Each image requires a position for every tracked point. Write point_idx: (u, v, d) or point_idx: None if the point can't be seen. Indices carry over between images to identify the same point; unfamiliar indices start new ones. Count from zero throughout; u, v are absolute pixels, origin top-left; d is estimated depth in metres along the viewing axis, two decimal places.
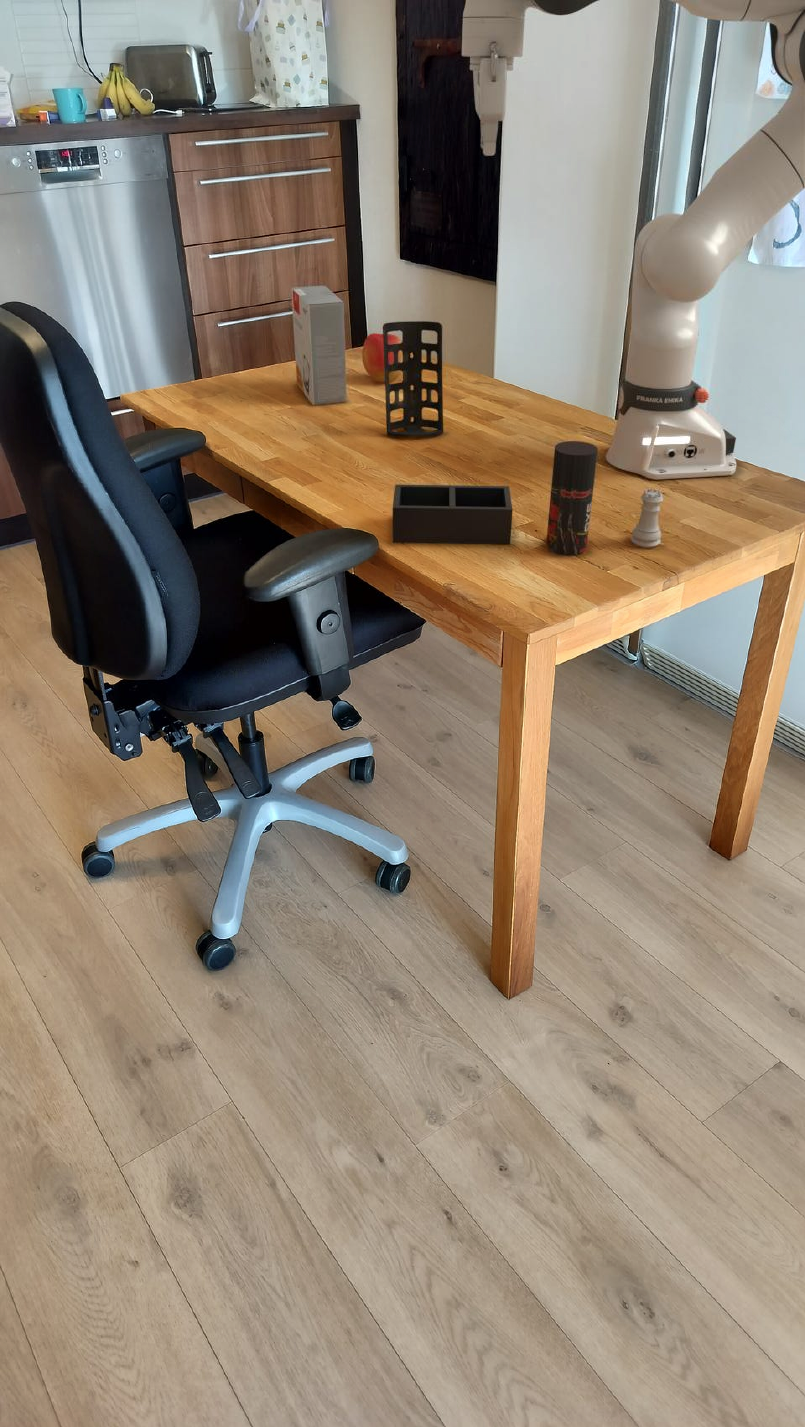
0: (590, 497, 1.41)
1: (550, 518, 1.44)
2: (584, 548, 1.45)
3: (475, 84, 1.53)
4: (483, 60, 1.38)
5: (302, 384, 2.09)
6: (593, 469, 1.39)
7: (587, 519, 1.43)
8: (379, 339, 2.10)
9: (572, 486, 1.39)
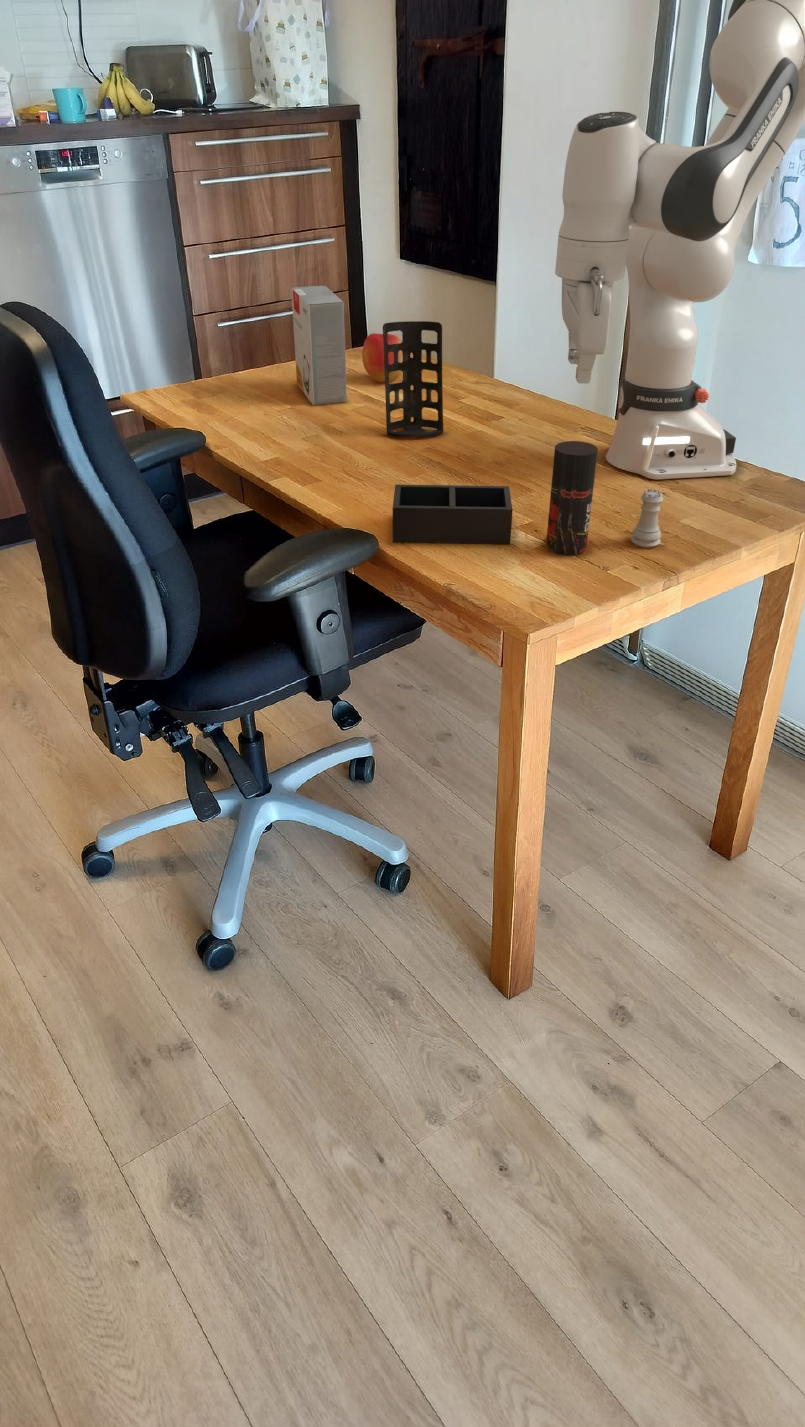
0: (590, 497, 1.41)
1: (550, 518, 1.44)
2: (584, 548, 1.45)
3: (564, 292, 1.37)
4: (585, 291, 1.21)
5: (302, 384, 2.09)
6: (593, 469, 1.39)
7: (587, 519, 1.43)
8: (379, 339, 2.10)
9: (572, 486, 1.39)
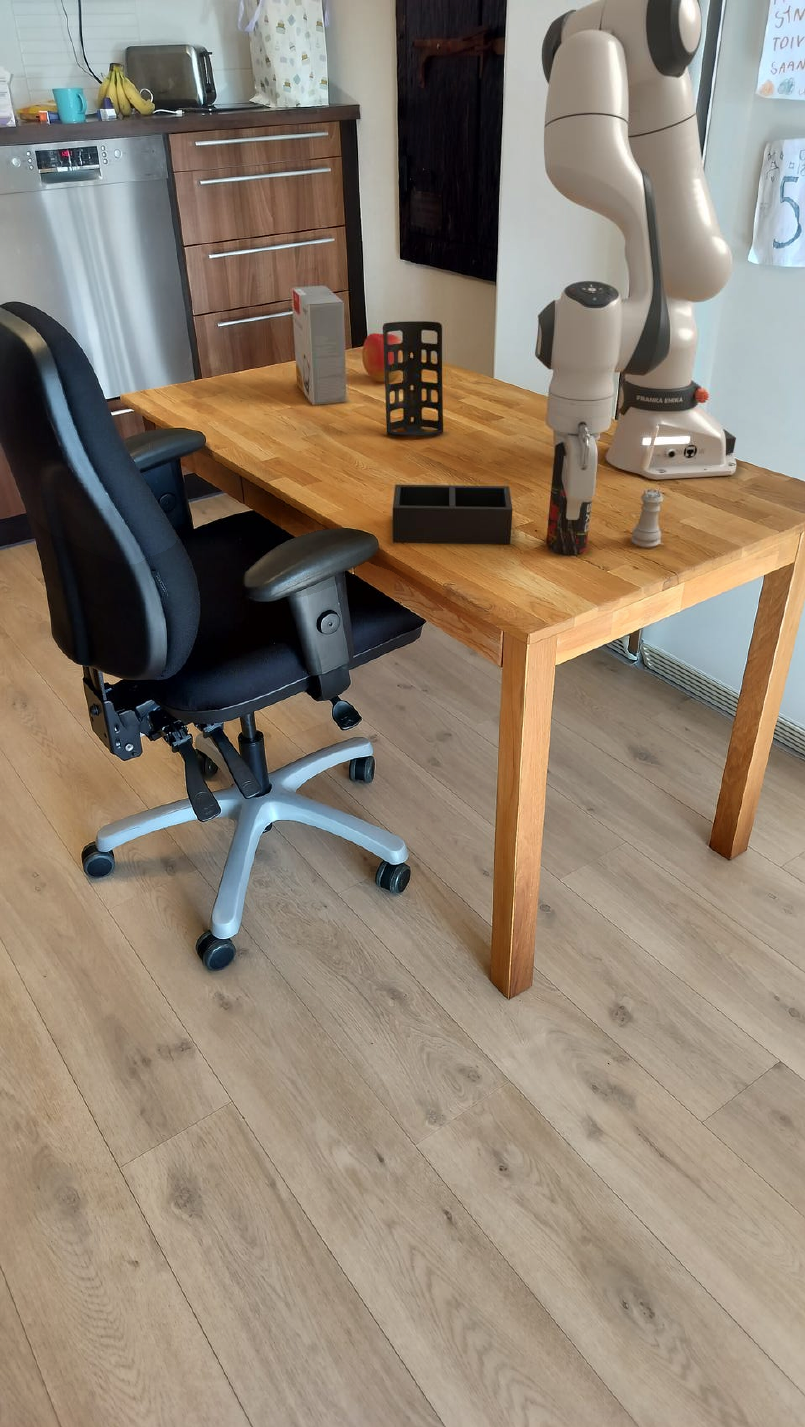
0: None
1: (550, 518, 1.44)
2: (584, 548, 1.45)
3: None
4: (573, 447, 1.30)
5: (302, 384, 2.09)
6: None
7: (587, 519, 1.43)
8: (379, 339, 2.10)
9: None
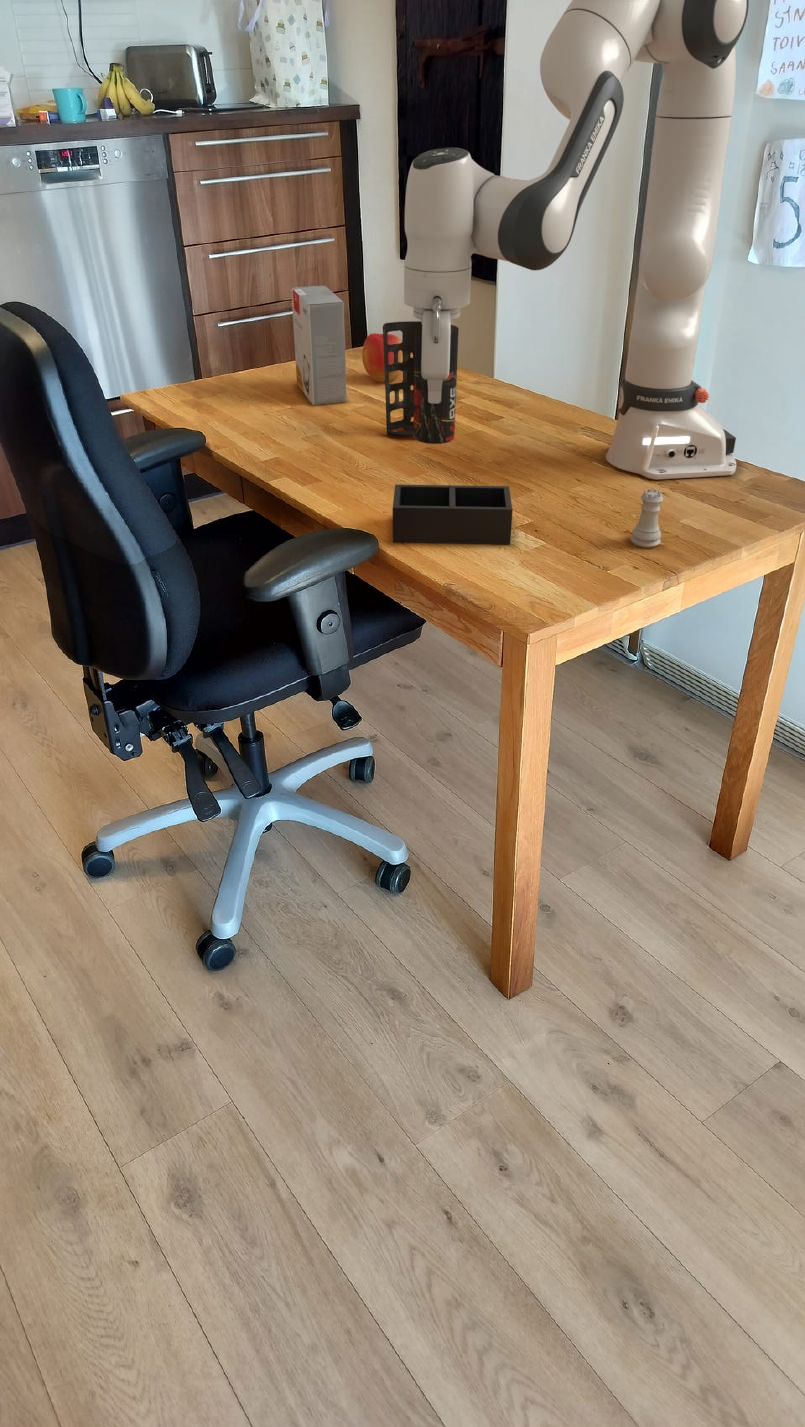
0: (453, 381, 1.37)
1: (414, 404, 1.40)
2: (451, 437, 1.42)
3: None
4: (424, 320, 1.26)
5: (302, 384, 2.09)
6: (454, 350, 1.35)
7: (452, 405, 1.39)
8: (379, 339, 2.10)
9: None
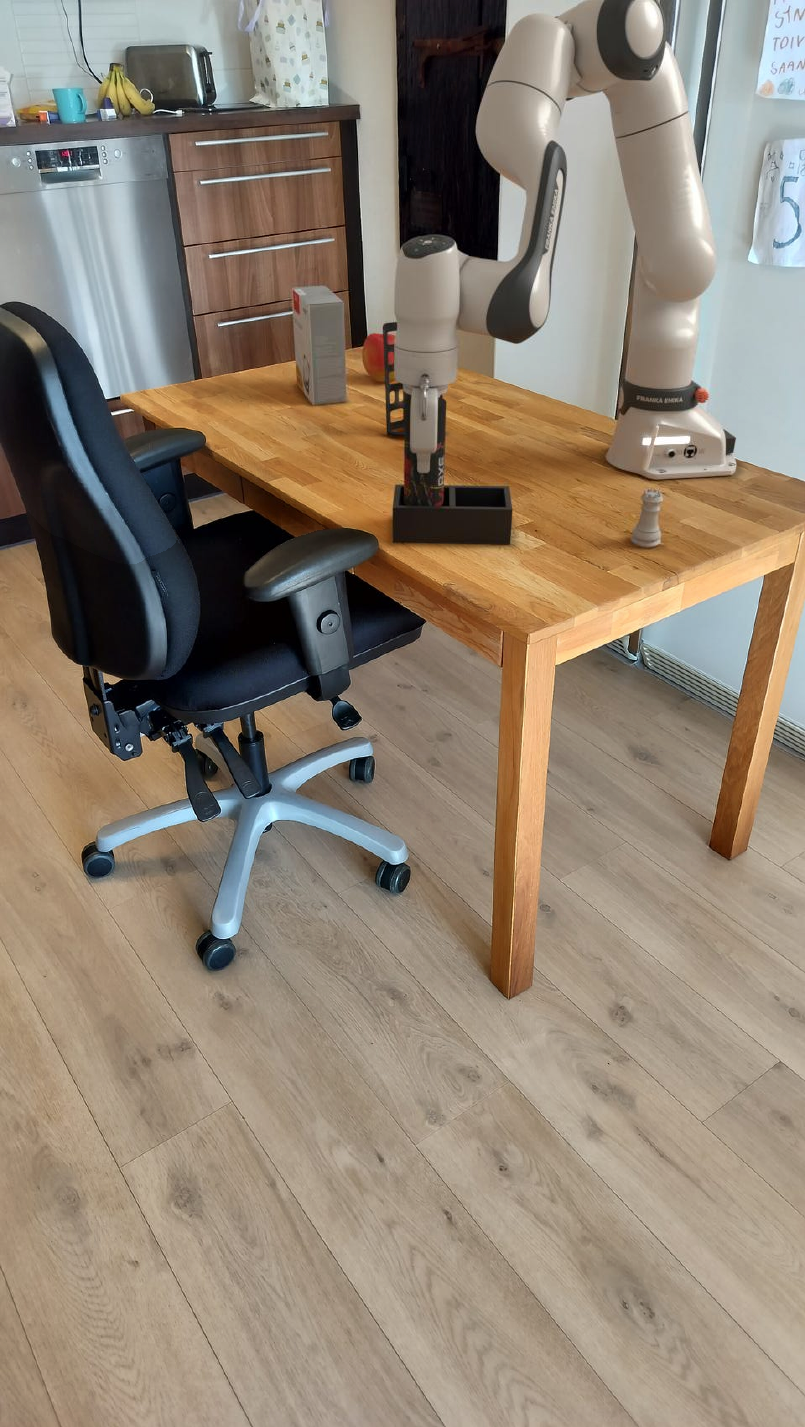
0: (441, 451, 1.43)
1: (405, 472, 1.46)
2: (439, 502, 1.48)
3: None
4: (413, 398, 1.32)
5: (302, 384, 2.09)
6: (442, 422, 1.41)
7: (440, 473, 1.45)
8: (379, 339, 2.10)
9: None
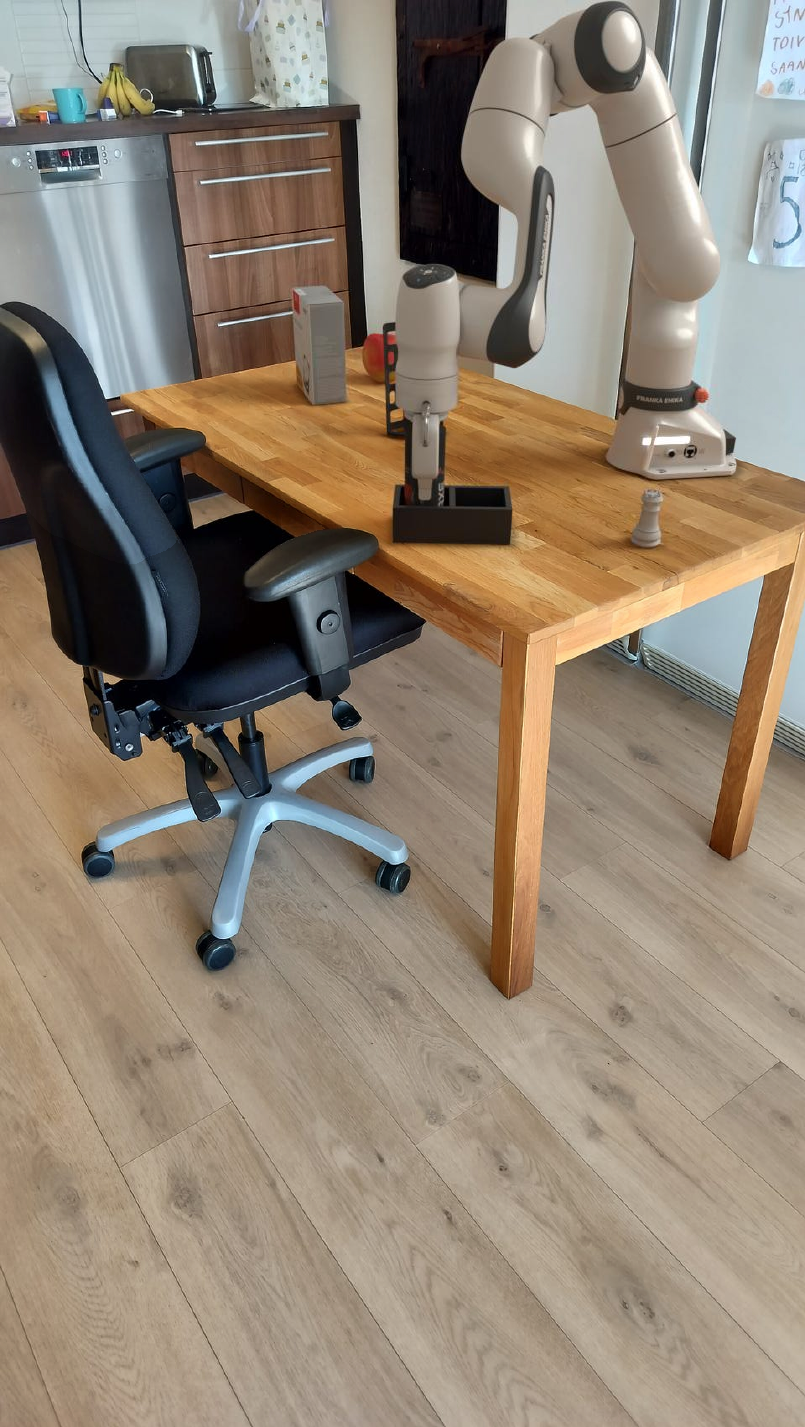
0: (441, 476, 1.45)
1: (405, 497, 1.48)
2: None
3: None
4: (414, 425, 1.34)
5: (302, 384, 2.09)
6: (441, 448, 1.43)
7: (440, 498, 1.47)
8: (379, 339, 2.10)
9: None
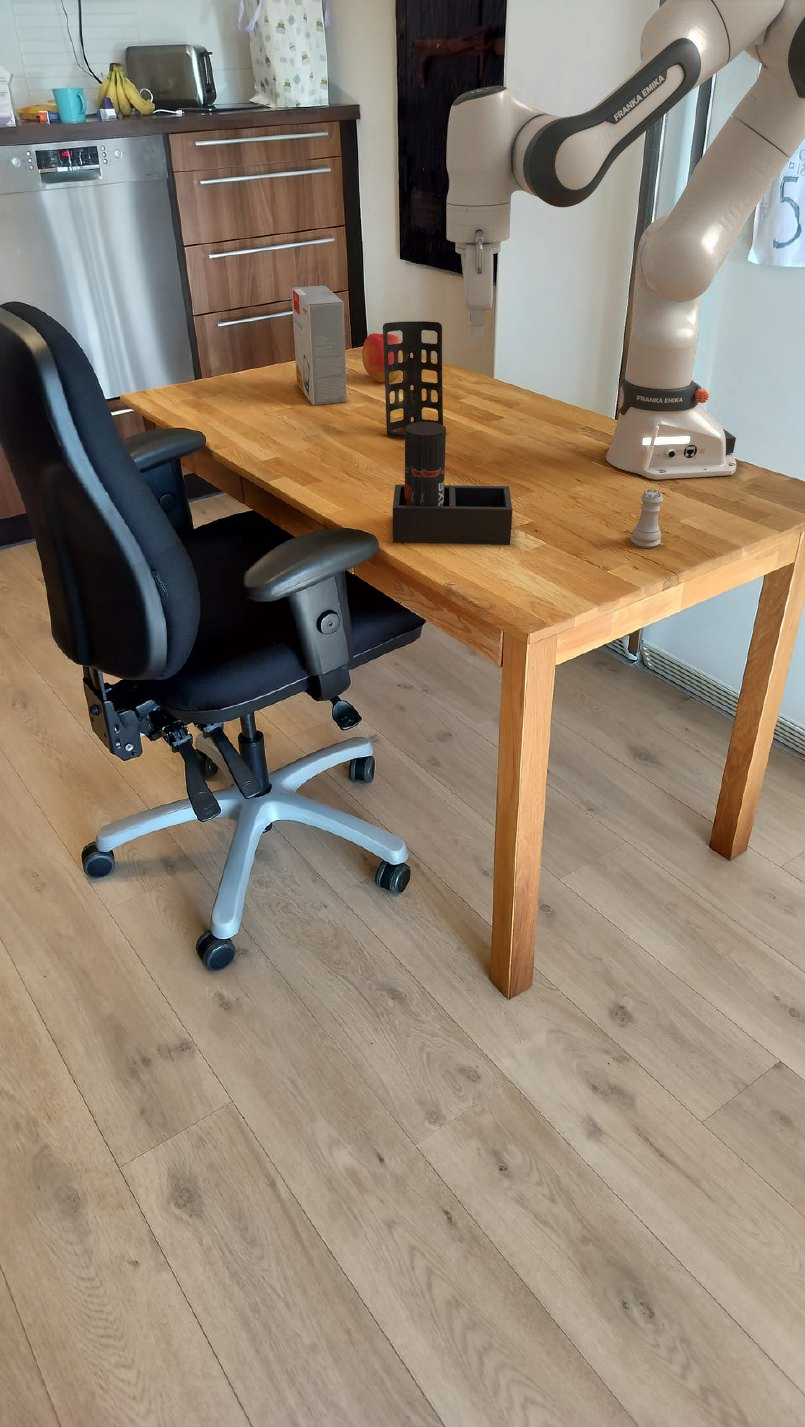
0: (441, 476, 1.45)
1: (405, 497, 1.48)
2: None
3: (462, 256, 1.48)
4: (468, 252, 1.32)
5: (302, 384, 2.09)
6: (441, 448, 1.43)
7: (440, 498, 1.47)
8: (379, 339, 2.10)
9: (421, 465, 1.43)
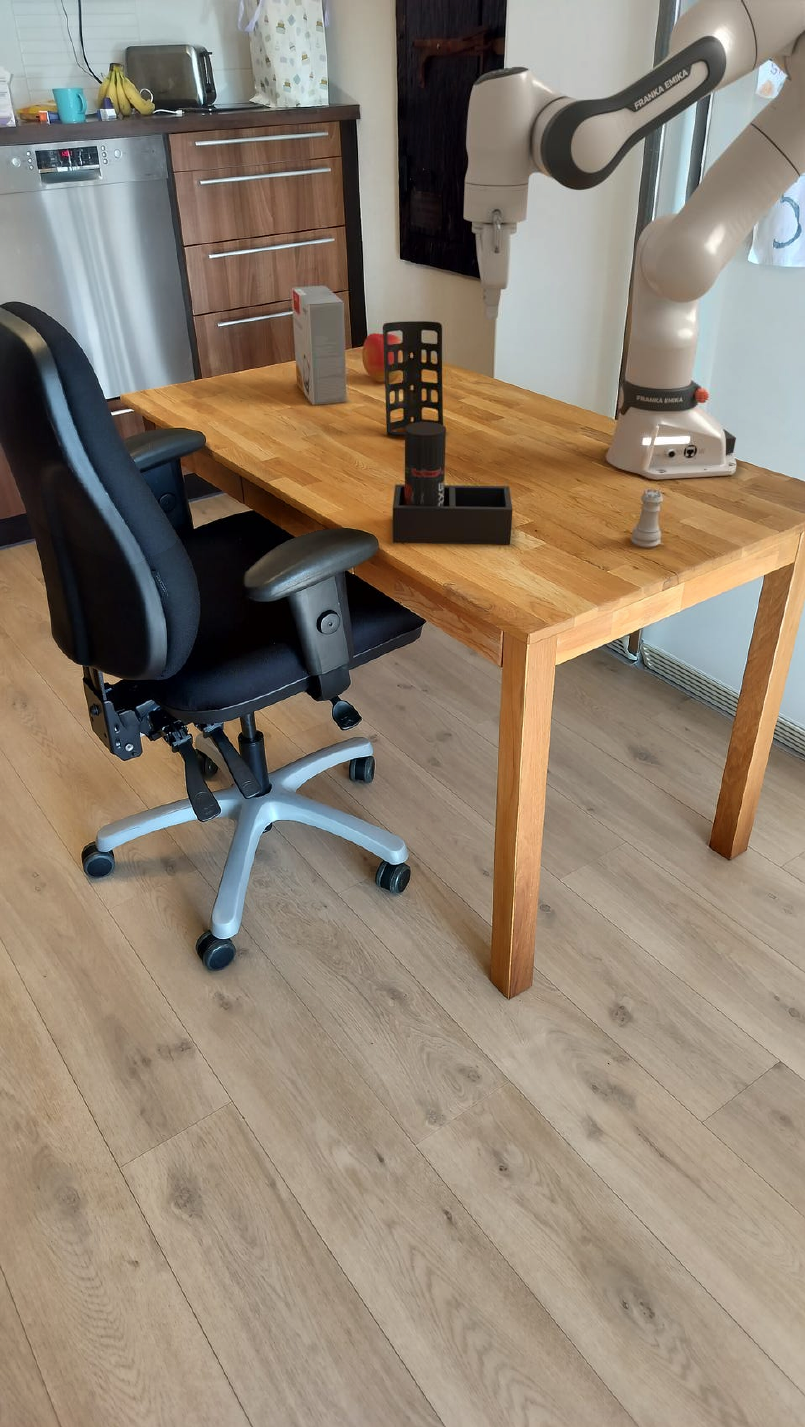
0: (441, 476, 1.45)
1: (405, 497, 1.48)
2: None
3: (477, 237, 1.49)
4: (486, 231, 1.33)
5: (302, 384, 2.09)
6: (441, 448, 1.43)
7: (440, 498, 1.47)
8: (379, 339, 2.10)
9: (421, 465, 1.43)
